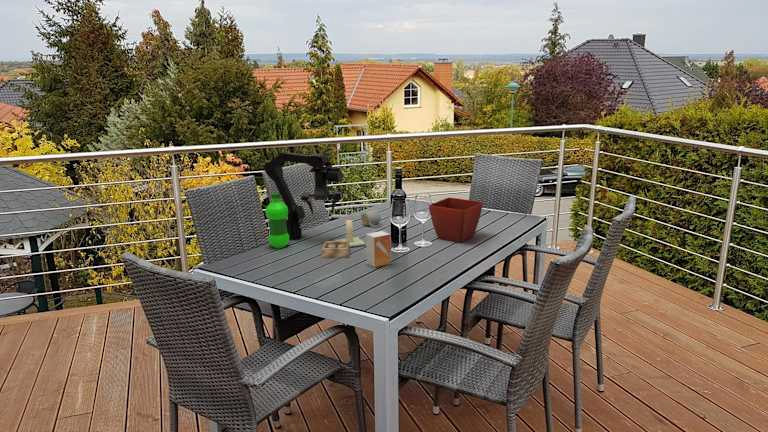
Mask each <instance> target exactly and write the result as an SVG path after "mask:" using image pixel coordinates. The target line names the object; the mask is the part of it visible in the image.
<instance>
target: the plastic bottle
mask: <svg viewBox="0 0 768 432" xmlns="http://www.w3.org/2000/svg"><path fill="white" fill-rule="evenodd" d="M280 198H281V195H280V193H279V192H273V193H270V199H272V200H271V202H270V203H269V204H268V205H267V206H266V207H265V211H264V213H265V217H266V218H267V219H268V223H269V224H268V225H269V235H268V239H267V240H268V241H267V242H268V243H269V244H270V246H272V247H273V248H276V249H282V248H285V247H286V246H287V245H288V244H289V242H290V239H289V234H288V233H287V227H286V221H287V218H288V208H287V206H286V205H285V203H284V202H282V201H280Z"/></svg>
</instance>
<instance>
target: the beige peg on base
mask: <svg viewBox="0 0 768 432" xmlns="http://www.w3.org/2000/svg"><path fill="white" fill-rule="evenodd" d="M353 229H354V228H353V220H352V219H347V220H345V234H346V235H345V237H346V238H339V239H334V240H333V241H350V248H353V247H360V246H361V247H362V246H367V245H366V242H365V241H363V240H362V239H361V238H360V237H359V236H354V233H353V232H354V230H353Z"/></svg>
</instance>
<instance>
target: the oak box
mask: <svg viewBox="0 0 768 432" xmlns="http://www.w3.org/2000/svg"><path fill="white" fill-rule="evenodd" d="M321 249H322V251H321V252H322V253H321V254H322V259H326V258H328V259H329V258H331V259H333V258H334V259H335V258H349V257H350V256H349V255H350V251H351V247H350V241H334V240H328V241H324V243H323V246H322V248H321Z"/></svg>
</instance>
